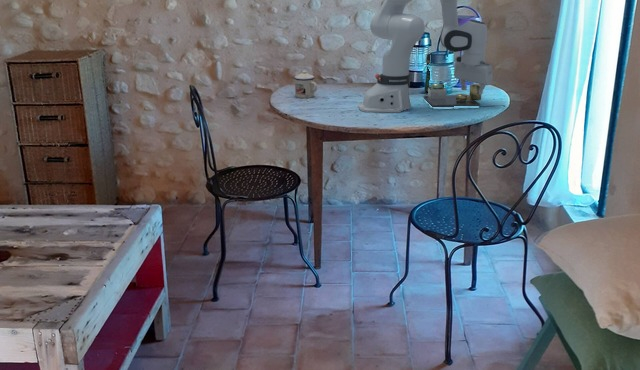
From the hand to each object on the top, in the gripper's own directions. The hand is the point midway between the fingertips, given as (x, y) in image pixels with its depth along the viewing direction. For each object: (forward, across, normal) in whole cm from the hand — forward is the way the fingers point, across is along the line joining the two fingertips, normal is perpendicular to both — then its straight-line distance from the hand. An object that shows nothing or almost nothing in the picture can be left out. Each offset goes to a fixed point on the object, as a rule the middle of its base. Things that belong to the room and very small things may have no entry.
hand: (471, 92), depth 280 cm
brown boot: (+3, -1, +2) cm, 4 cm away
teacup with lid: (+6, +51, +53) cm, 73 cm away
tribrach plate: (+5, +4, +8) cm, 10 cm away
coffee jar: (+6, +27, -3) cm, 28 cm away
